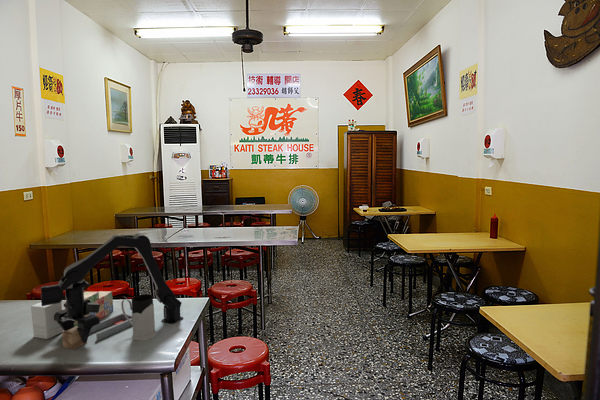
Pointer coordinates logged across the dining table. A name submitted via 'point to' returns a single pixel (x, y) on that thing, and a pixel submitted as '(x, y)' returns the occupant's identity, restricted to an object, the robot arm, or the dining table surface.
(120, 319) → the trap channel
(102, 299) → the stack of blocks
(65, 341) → the tan cube
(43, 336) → the supplement box
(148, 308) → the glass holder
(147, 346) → the dining table surface
